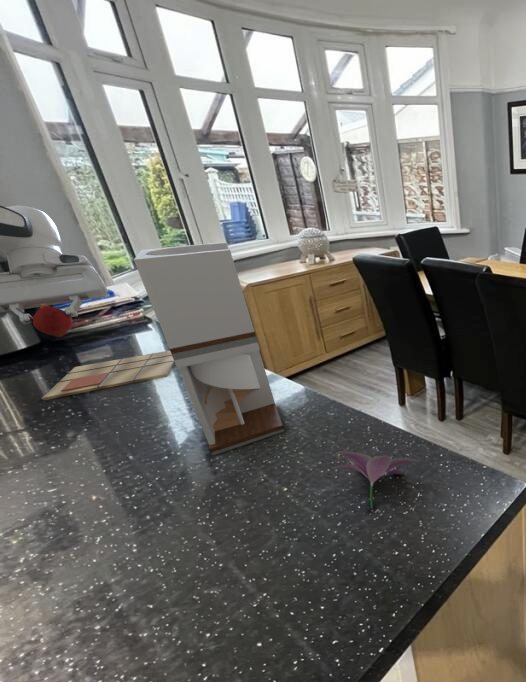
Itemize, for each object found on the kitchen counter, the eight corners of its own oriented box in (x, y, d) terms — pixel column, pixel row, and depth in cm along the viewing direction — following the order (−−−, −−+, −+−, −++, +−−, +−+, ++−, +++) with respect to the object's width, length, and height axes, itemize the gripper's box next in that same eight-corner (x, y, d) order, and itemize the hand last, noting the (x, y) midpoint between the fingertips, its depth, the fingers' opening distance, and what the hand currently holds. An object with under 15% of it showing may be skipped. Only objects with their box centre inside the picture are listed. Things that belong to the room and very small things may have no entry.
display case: (213, 458, 69) (133, 259, 55) (211, 429, 77) (141, 249, 63) (285, 433, 75) (230, 249, 62) (276, 409, 83) (226, 241, 69)
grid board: (44, 402, 88) (40, 397, 87) (76, 371, 103) (74, 366, 102) (167, 378, 98) (165, 373, 97) (181, 352, 112) (179, 347, 112)
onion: (74, 330, 94) (57, 298, 91) (82, 334, 92) (65, 301, 88) (39, 338, 90) (20, 305, 87) (46, 343, 87) (27, 309, 84)
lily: (433, 496, 61) (427, 434, 62) (376, 525, 51) (369, 449, 52) (377, 495, 66) (372, 438, 68) (315, 521, 56) (310, 453, 57)
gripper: (-40, 268, 83) (-31, 323, 80) (93, 255, 95) (106, 302, 92) (-21, 284, 88) (-12, 337, 85) (104, 270, 100) (116, 315, 97)
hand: (50, 319), depth 88 cm, fingers closed on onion, 5 cm apart
